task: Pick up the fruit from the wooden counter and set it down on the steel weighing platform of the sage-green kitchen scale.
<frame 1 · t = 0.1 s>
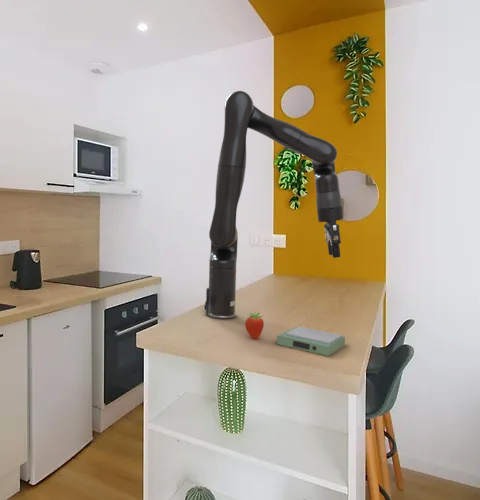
hand: (334, 256, 136), 22 cm above the table, tool pointing down, fingers open, 8 cm apart
fruit: (254, 339, 120), on the table
scale: (310, 344, 115), on the table
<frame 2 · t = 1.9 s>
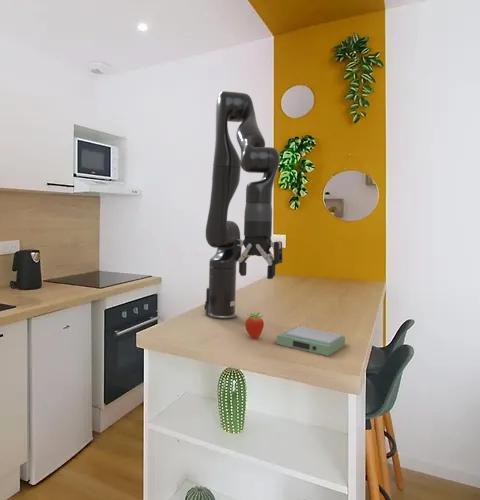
hand: (256, 277, 118), 18 cm above the table, tool pointing down, fingers open, 8 cm apart
nothing on the table moved.
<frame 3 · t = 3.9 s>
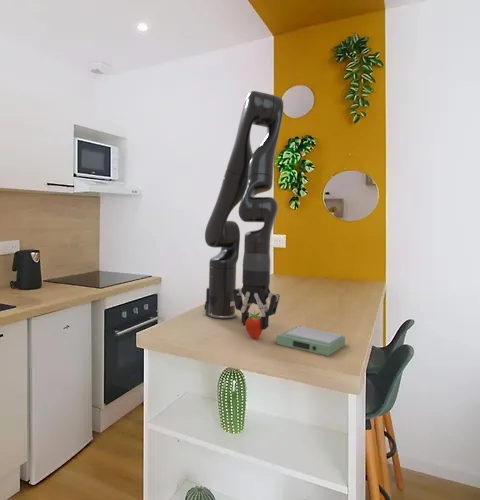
hand: (254, 326, 119), 3 cm above the table, tool pointing down, fingers closed on fruit, 5 cm apart
fruit: (254, 339, 120), on the table, touching gripper
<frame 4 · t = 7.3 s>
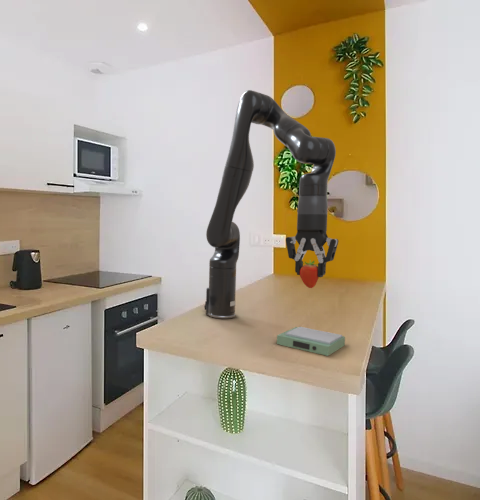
hand: (309, 275, 113), 19 cm above the table, tool pointing down, fingers closed on fruit, 5 cm apart
fruit: (309, 288, 114), point 15 cm above the table, touching gripper
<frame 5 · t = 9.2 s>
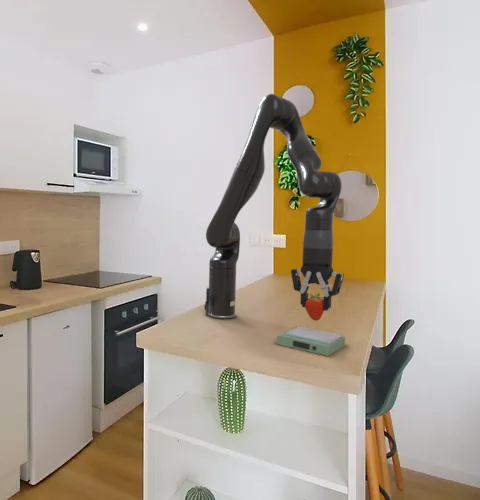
hand: (315, 308, 114), 10 cm above the table, tool pointing down, fingers closed on fruit, 5 cm apart
fruit: (314, 321, 114), point 7 cm above the table, touching gripper
when the fingers open (7 cm above the table, at t = 10.6 s): fruit stays where it is, resting on scale.
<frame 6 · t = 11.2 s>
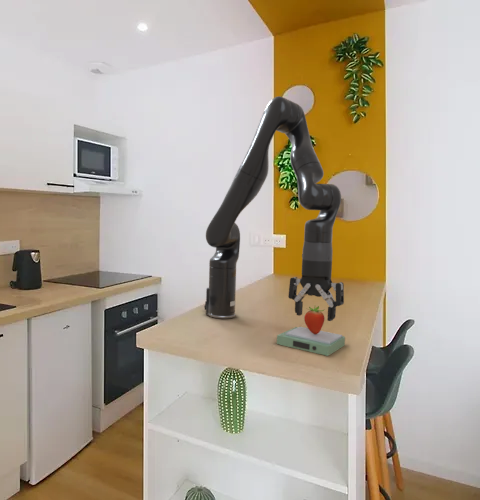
hand: (314, 317, 114), 8 cm above the table, tool pointing down, fingers open, 8 cm apart
fruit: (313, 334, 114), point 3 cm above the table, touching scale
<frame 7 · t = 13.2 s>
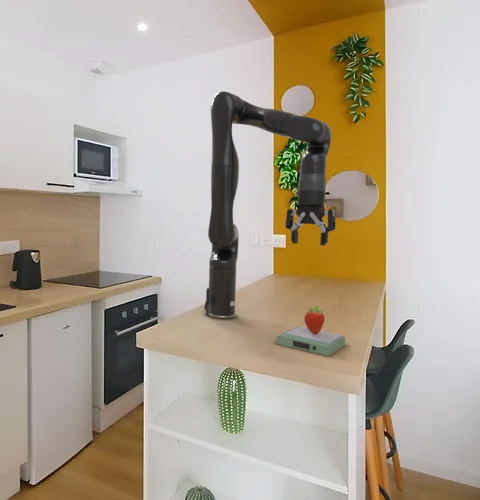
hand: (308, 244, 125), 27 cm above the table, tool pointing down, fingers open, 8 cm apart
nothing on the table moved.
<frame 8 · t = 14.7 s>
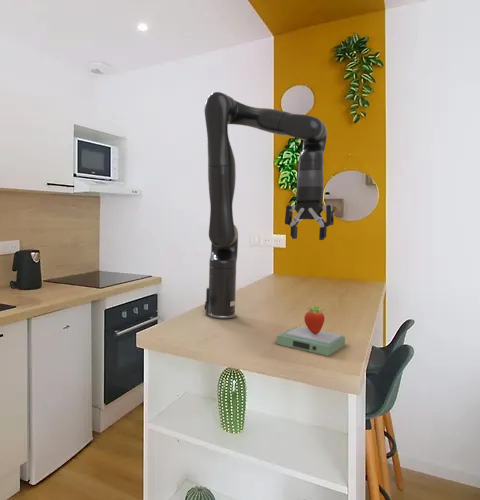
hand: (307, 239, 128), 28 cm above the table, tool pointing down, fingers open, 8 cm apart
nothing on the table moved.
at the end: fruit inside the target area on the scale (0.1 cm from its centre), point 2.9 cm above the scale's base; fruit tilted 0°; the gripper is holding nothing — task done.
